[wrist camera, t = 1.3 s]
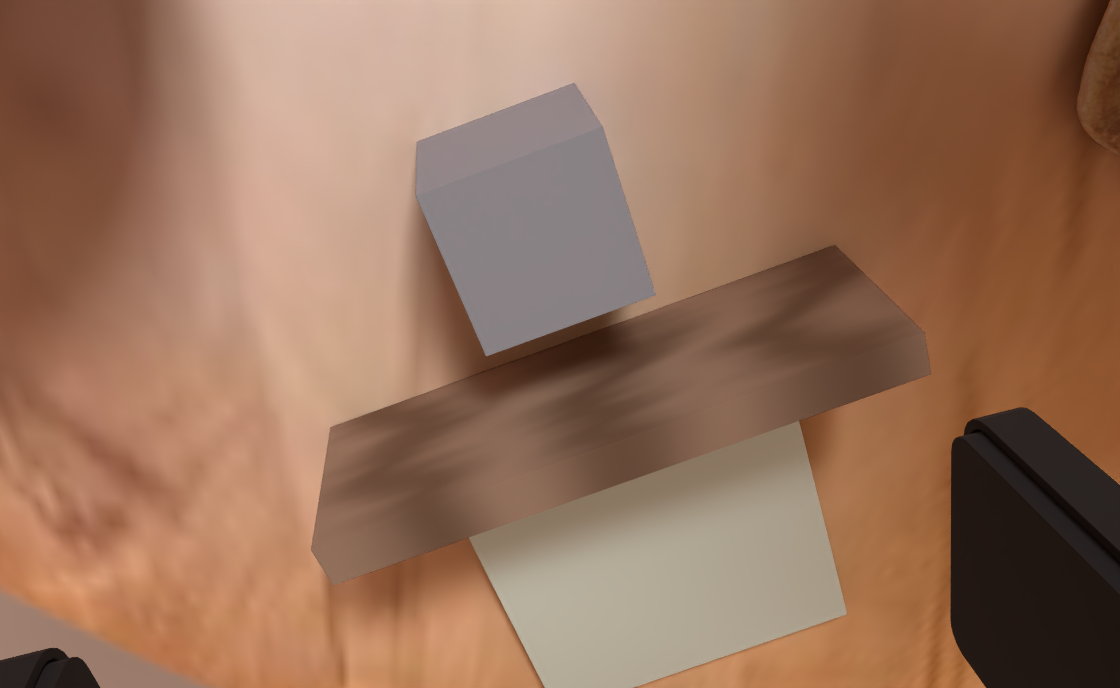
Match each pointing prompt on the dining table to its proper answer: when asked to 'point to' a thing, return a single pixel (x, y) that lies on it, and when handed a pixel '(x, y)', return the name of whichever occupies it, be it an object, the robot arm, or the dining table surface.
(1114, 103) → the stone cup
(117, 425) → the dining table surface
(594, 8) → the dining table surface
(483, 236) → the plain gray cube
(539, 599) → the display mat
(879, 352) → the walnut screen
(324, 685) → the dining table surface
